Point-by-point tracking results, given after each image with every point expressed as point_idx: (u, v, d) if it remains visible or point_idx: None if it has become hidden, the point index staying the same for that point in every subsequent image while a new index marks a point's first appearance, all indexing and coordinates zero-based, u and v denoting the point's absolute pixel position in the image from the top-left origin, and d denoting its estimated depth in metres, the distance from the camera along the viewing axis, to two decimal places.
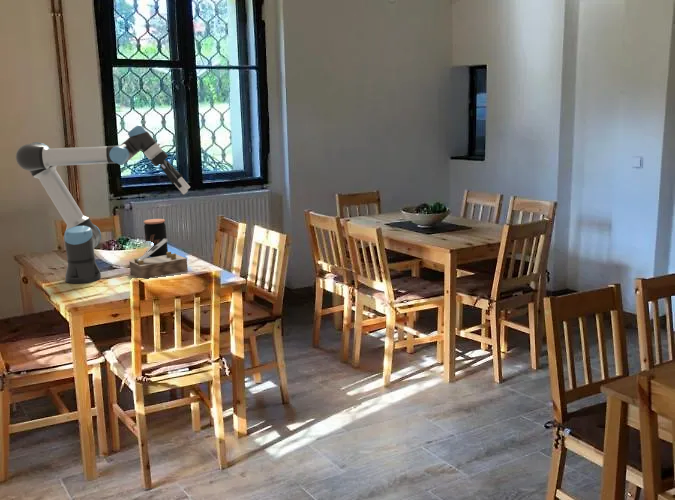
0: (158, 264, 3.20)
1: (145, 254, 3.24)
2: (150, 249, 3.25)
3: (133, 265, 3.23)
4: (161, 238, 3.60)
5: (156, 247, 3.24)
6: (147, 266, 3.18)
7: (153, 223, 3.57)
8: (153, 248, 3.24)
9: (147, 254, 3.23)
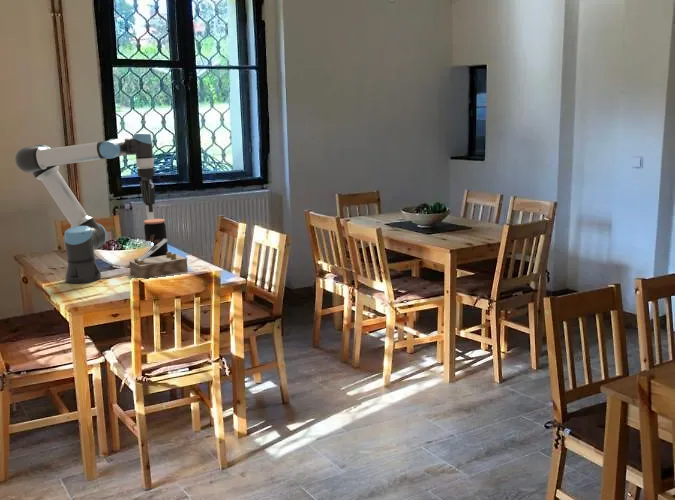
0: (158, 264, 3.20)
1: (145, 254, 3.24)
2: (150, 249, 3.25)
3: (133, 265, 3.23)
4: (161, 238, 3.60)
5: (156, 247, 3.24)
6: (147, 266, 3.18)
7: (153, 223, 3.57)
8: (153, 248, 3.24)
9: (147, 254, 3.23)
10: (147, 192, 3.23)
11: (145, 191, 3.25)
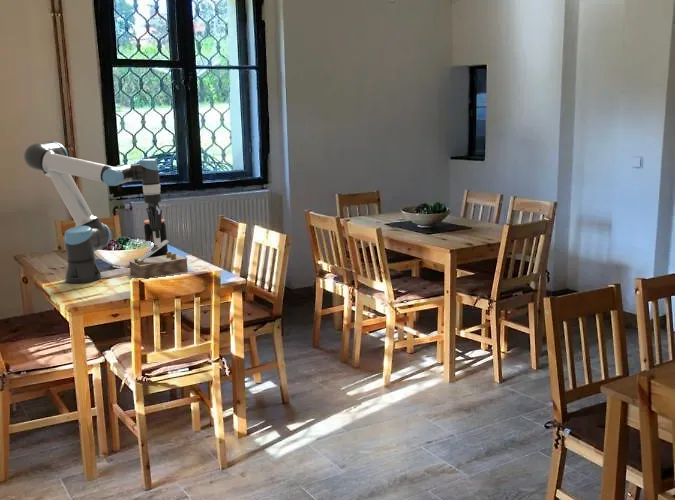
0: (158, 264, 3.20)
1: (145, 254, 3.24)
2: (150, 251, 3.25)
3: (133, 265, 3.23)
4: (161, 238, 3.60)
5: (157, 248, 3.25)
6: (147, 266, 3.18)
7: None
8: (154, 249, 3.25)
9: (147, 254, 3.23)
10: (154, 218, 3.21)
11: (152, 217, 3.23)
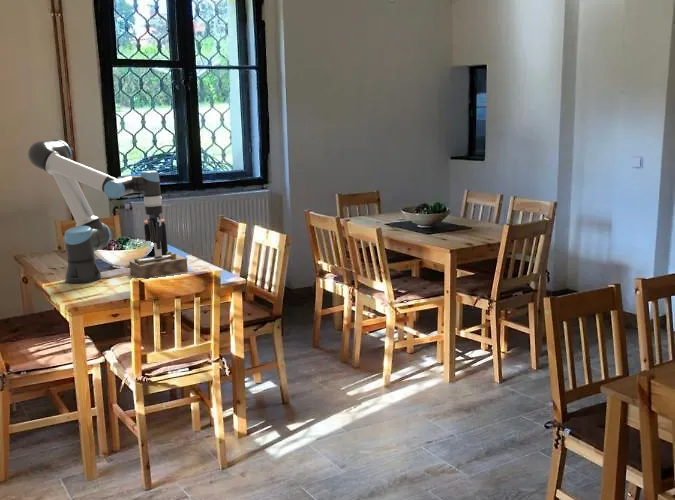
0: (158, 264, 3.20)
1: (147, 258, 3.25)
2: (154, 256, 3.27)
3: (133, 265, 3.23)
4: None
5: (160, 257, 3.26)
6: (147, 266, 3.18)
7: None
8: None
9: (149, 259, 3.24)
10: (155, 230, 3.22)
11: (153, 228, 3.24)
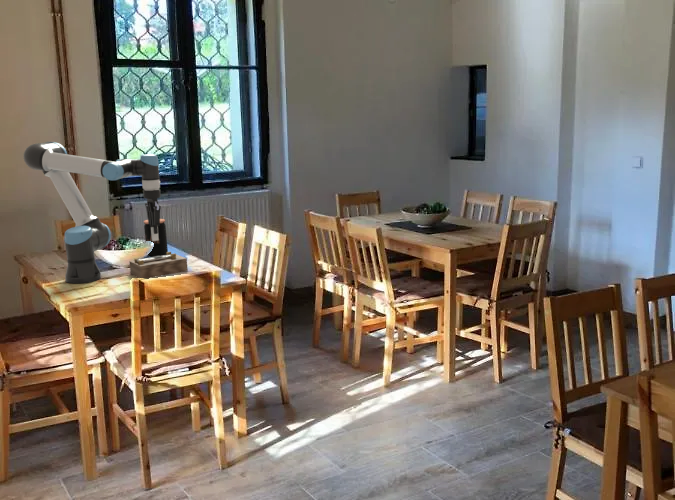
0: (158, 264, 3.20)
1: (147, 258, 3.25)
2: (154, 256, 3.27)
3: (133, 265, 3.23)
4: (161, 238, 3.60)
5: (160, 257, 3.26)
6: (147, 266, 3.18)
7: None
8: (157, 256, 3.26)
9: (149, 259, 3.24)
10: (152, 214, 3.21)
11: (150, 212, 3.23)
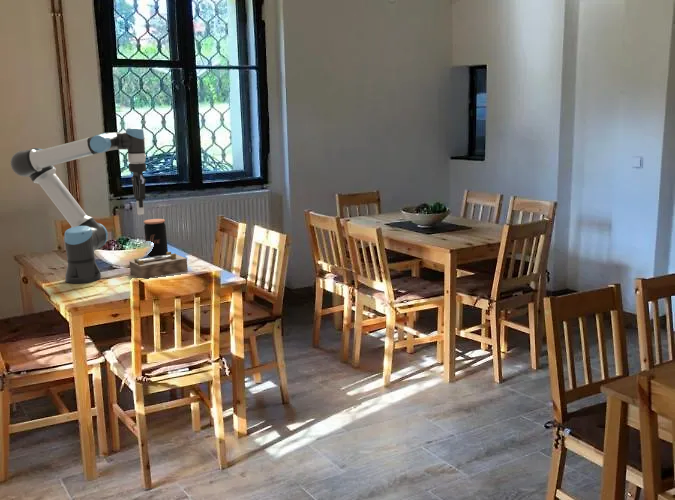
0: (158, 264, 3.20)
1: (147, 258, 3.25)
2: (154, 256, 3.27)
3: (133, 265, 3.23)
4: (161, 238, 3.60)
5: (160, 257, 3.26)
6: (147, 266, 3.18)
7: (153, 223, 3.57)
8: (157, 256, 3.26)
9: (149, 259, 3.24)
10: (138, 187, 3.21)
11: (136, 186, 3.23)
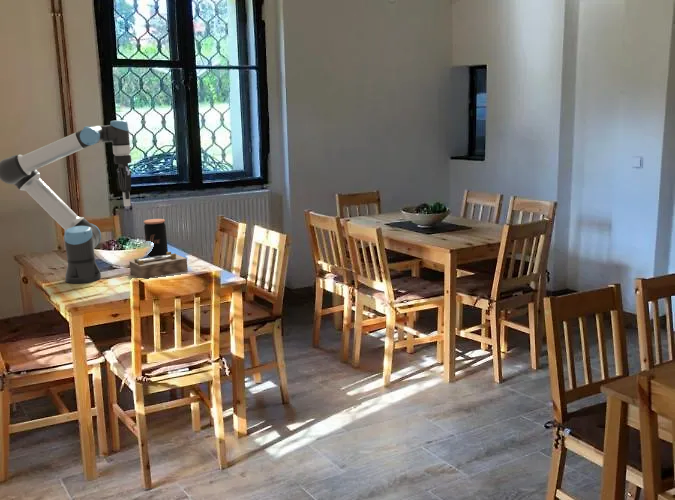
0: (158, 264, 3.20)
1: (147, 258, 3.25)
2: (154, 256, 3.27)
3: (133, 265, 3.23)
4: (161, 238, 3.60)
5: (160, 257, 3.26)
6: (147, 266, 3.18)
7: (153, 223, 3.57)
8: (157, 256, 3.26)
9: (149, 259, 3.24)
10: (123, 179, 3.25)
11: (122, 178, 3.27)
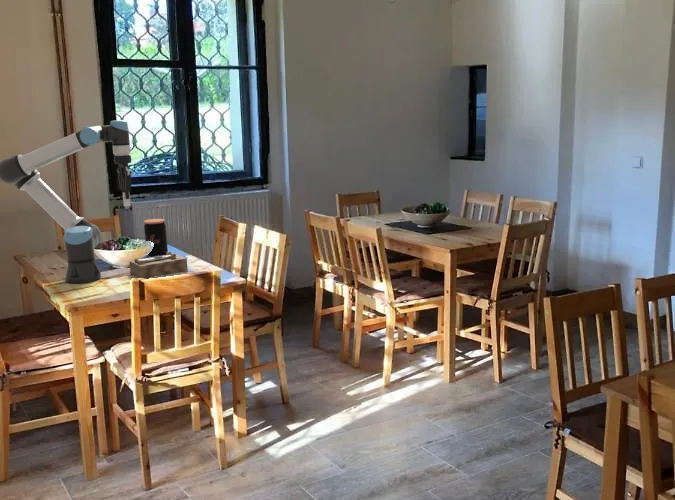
0: (158, 264, 3.20)
1: (147, 258, 3.25)
2: (154, 256, 3.27)
3: (133, 265, 3.23)
4: (161, 238, 3.60)
5: (160, 257, 3.26)
6: (147, 266, 3.18)
7: (153, 223, 3.57)
8: (157, 256, 3.26)
9: (149, 259, 3.24)
10: (123, 179, 3.25)
11: (122, 178, 3.27)
